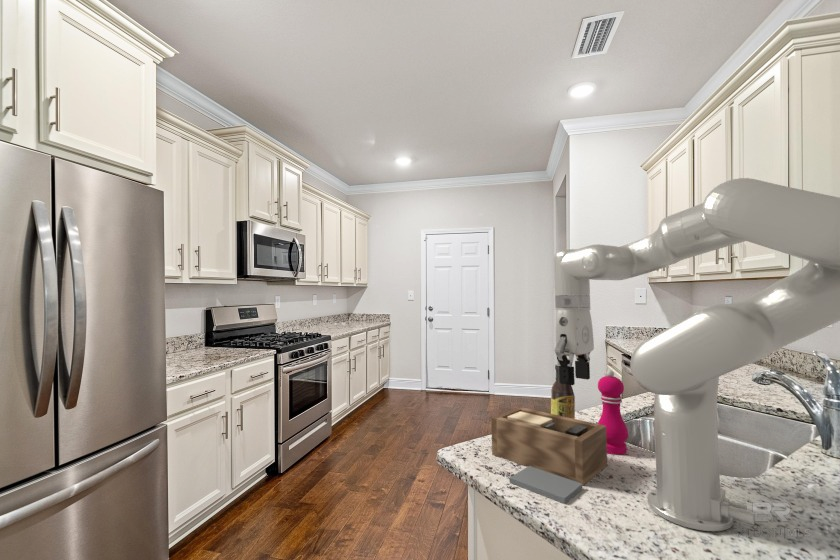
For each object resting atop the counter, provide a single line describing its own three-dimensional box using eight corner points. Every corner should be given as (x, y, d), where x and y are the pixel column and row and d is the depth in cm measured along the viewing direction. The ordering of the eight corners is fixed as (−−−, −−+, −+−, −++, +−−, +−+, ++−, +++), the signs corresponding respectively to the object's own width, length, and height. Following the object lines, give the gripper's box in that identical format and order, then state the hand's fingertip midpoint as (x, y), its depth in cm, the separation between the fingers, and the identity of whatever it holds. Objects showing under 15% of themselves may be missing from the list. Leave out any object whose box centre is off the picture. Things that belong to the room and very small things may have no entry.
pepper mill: (633, 456, 94) (630, 373, 95) (601, 454, 95) (598, 372, 96) (623, 445, 101) (621, 368, 102) (594, 443, 102) (591, 367, 103)
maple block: (552, 429, 95) (552, 418, 95) (540, 435, 91) (540, 424, 91) (520, 421, 101) (520, 411, 101) (507, 426, 97) (507, 416, 97)
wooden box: (607, 465, 89) (606, 425, 89) (583, 485, 80) (581, 441, 80) (520, 440, 105) (519, 406, 106) (492, 454, 96) (491, 417, 96)
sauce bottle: (560, 442, 103) (557, 367, 104) (546, 434, 109) (544, 363, 110) (580, 439, 105) (578, 365, 106) (566, 432, 111) (564, 362, 112)
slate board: (582, 488, 78) (582, 483, 78) (564, 503, 73) (564, 498, 73) (529, 470, 87) (529, 465, 87) (509, 482, 81) (509, 477, 82)
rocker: (589, 444, 88) (588, 427, 89) (577, 452, 84) (577, 433, 84) (519, 426, 101) (519, 411, 102) (507, 432, 97) (506, 416, 97)
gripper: (571, 304, 80) (574, 390, 79) (604, 302, 92) (606, 377, 91) (538, 304, 86) (540, 385, 85) (573, 302, 98) (575, 373, 97)
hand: (575, 380), depth 88 cm, fingers open, 7 cm apart
